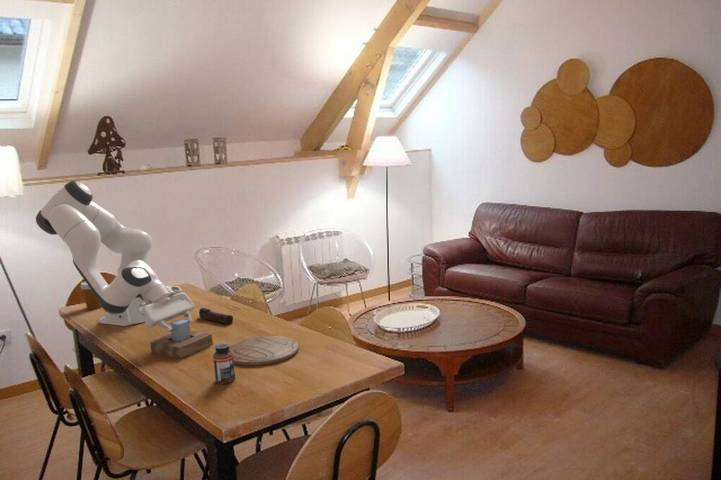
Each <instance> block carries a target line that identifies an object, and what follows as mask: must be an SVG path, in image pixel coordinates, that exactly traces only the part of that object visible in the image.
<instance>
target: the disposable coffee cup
mask: <svg viewBox="0 0 721 480" xmlns="http://www.w3.org/2000/svg"><path fill="white" fill-rule="evenodd" d="M79 287H80V289H81V291H82V295H83V298H84V303H85V305H86V309H87V310H91V311H92V310H98V309H101V308H102V307H101V305H100V303H99V301H98V299H97V297H96V295H95V294H94V293H93V291H92V290H91V288H90V287H89V286H88V284H87V283H86V281H83V282H81V283H80V286H79Z"/></svg>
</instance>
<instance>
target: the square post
mask: <svg viewBox="0 0 721 480" xmlns="http://www.w3.org/2000/svg"><path fill="white" fill-rule="evenodd" d="M169 325H171V326H172V328H173V330H172V331H171V333H172V341H176V342H183V341H185V340H188V339H190V338H191V335H190V330H191V328H190V327H191V326H190V325H191V324H189V321H188V320H187V319H182V318H181V319H178V320H177V319H176V320H174V321H171V322H170V324H169ZM171 333H170V334H171Z"/></svg>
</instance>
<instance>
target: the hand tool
mask: <svg viewBox="0 0 721 480" xmlns="http://www.w3.org/2000/svg"><path fill="white" fill-rule="evenodd" d="M198 314H199V318H201V319H202V320H205V321H209V320H210V321H214V322H216V323H217V322H218V323H221V324H225V325H226V326H228V325H231V324H233V321H234V317H233V315H231V314H228V315H227V314H225V313H220V312H219V313H218V312H214V311H211V309H209V308H206V307H201V308H199V312H198Z"/></svg>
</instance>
